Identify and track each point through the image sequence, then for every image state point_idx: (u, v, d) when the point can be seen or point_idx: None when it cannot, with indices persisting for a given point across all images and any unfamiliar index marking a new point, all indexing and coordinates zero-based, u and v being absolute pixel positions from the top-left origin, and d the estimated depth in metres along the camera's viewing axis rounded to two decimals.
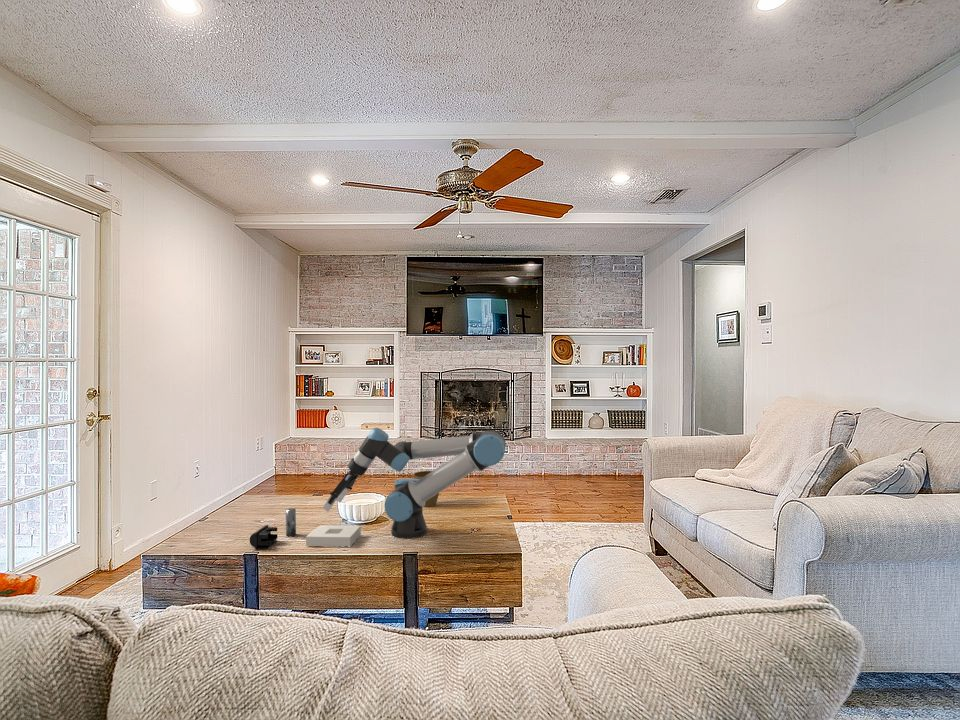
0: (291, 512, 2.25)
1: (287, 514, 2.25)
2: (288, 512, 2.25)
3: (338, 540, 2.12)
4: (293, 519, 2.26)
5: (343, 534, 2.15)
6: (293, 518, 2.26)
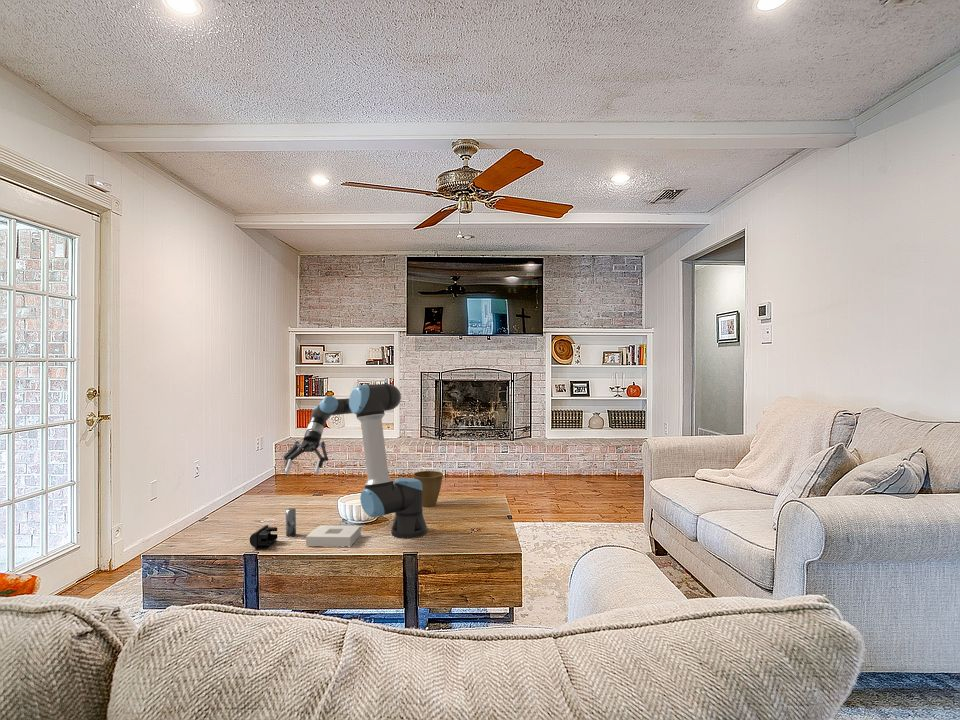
0: (291, 512, 2.25)
1: (287, 514, 2.25)
2: (288, 512, 2.25)
3: (338, 540, 2.12)
4: (293, 519, 2.26)
5: (343, 534, 2.15)
6: (293, 518, 2.26)
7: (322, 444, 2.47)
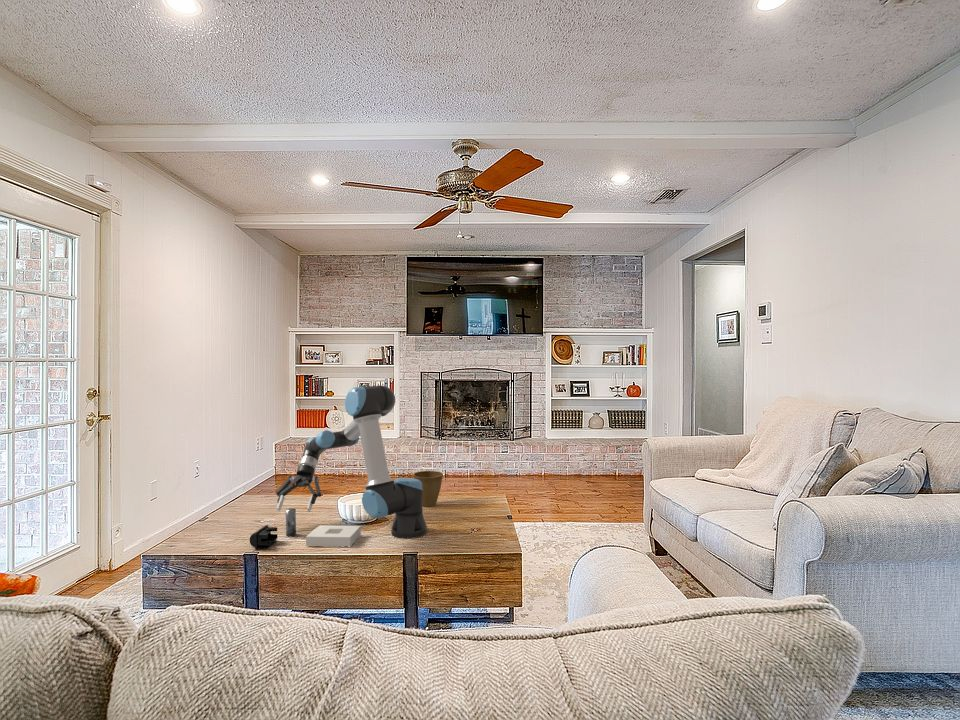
0: (291, 512, 2.25)
1: (287, 514, 2.25)
2: (288, 512, 2.25)
3: (338, 540, 2.12)
4: (293, 519, 2.26)
5: (343, 534, 2.15)
6: (293, 518, 2.26)
7: (315, 479, 2.41)
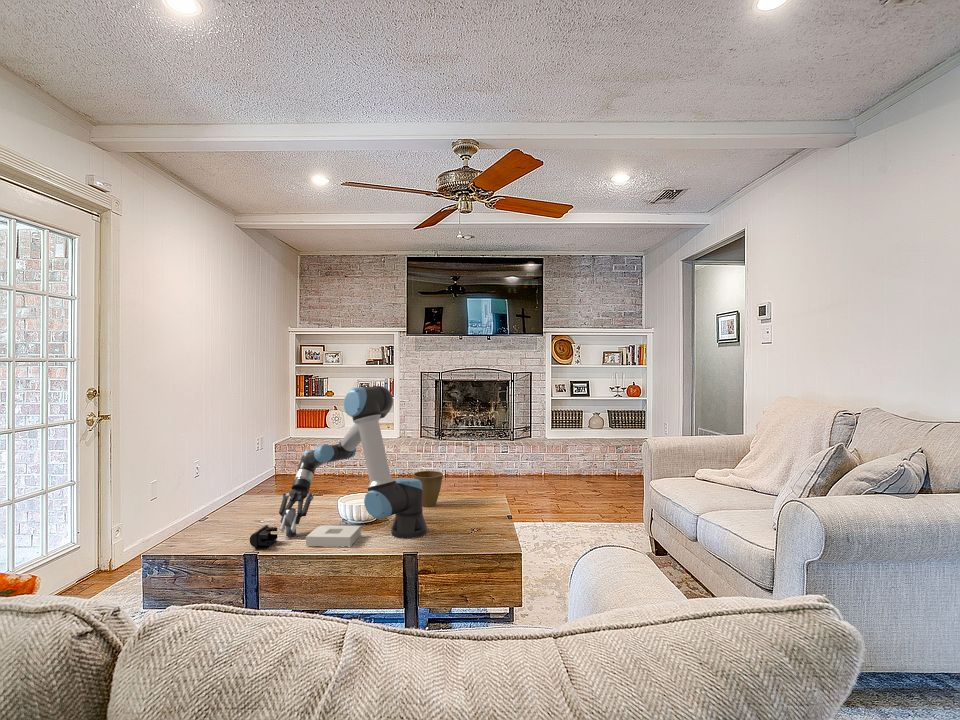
0: (291, 512, 2.25)
1: (287, 514, 2.25)
2: (288, 512, 2.25)
3: (338, 540, 2.12)
4: (293, 519, 2.26)
5: (343, 534, 2.15)
6: (293, 518, 2.26)
7: (308, 496, 2.33)
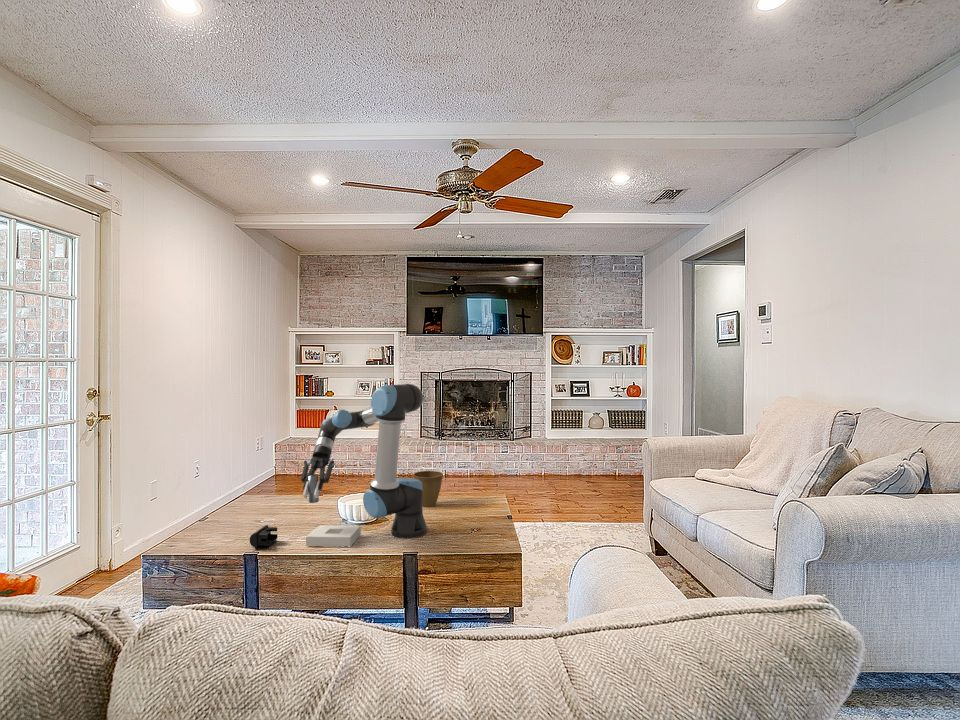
0: (314, 478, 2.22)
1: (309, 480, 2.22)
2: (310, 478, 2.22)
3: (338, 540, 2.12)
4: None
5: (343, 534, 2.15)
6: (315, 484, 2.23)
7: (330, 463, 2.30)
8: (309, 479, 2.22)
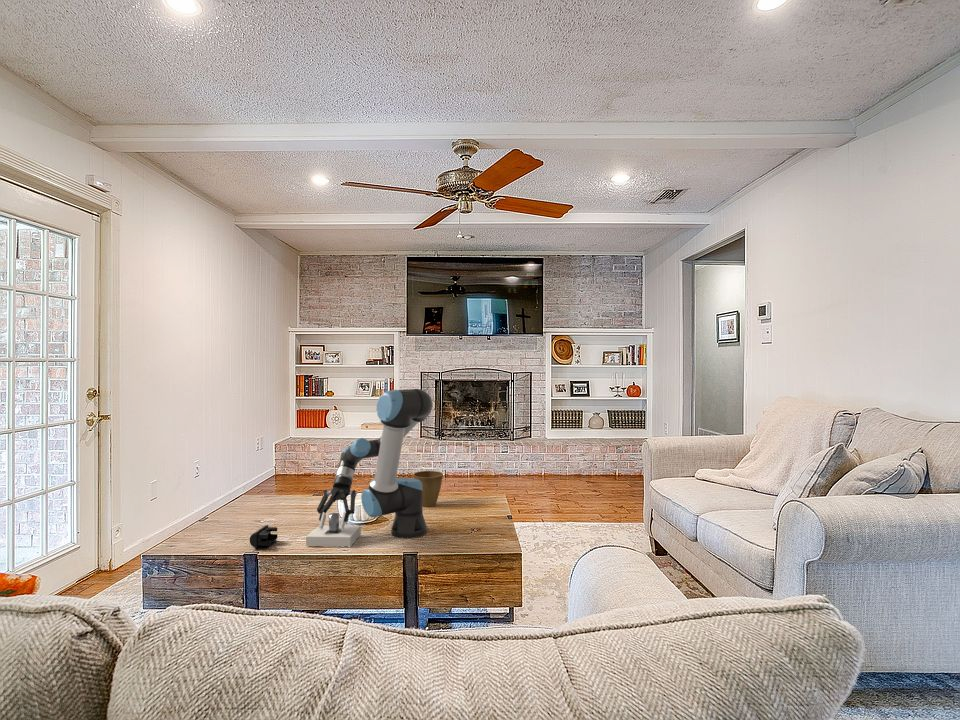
0: (334, 517, 2.18)
1: (330, 519, 2.18)
2: (331, 517, 2.18)
3: (338, 540, 2.12)
4: (336, 524, 2.18)
5: (343, 534, 2.15)
6: (336, 523, 2.18)
7: (352, 493, 2.25)
8: (330, 518, 2.18)
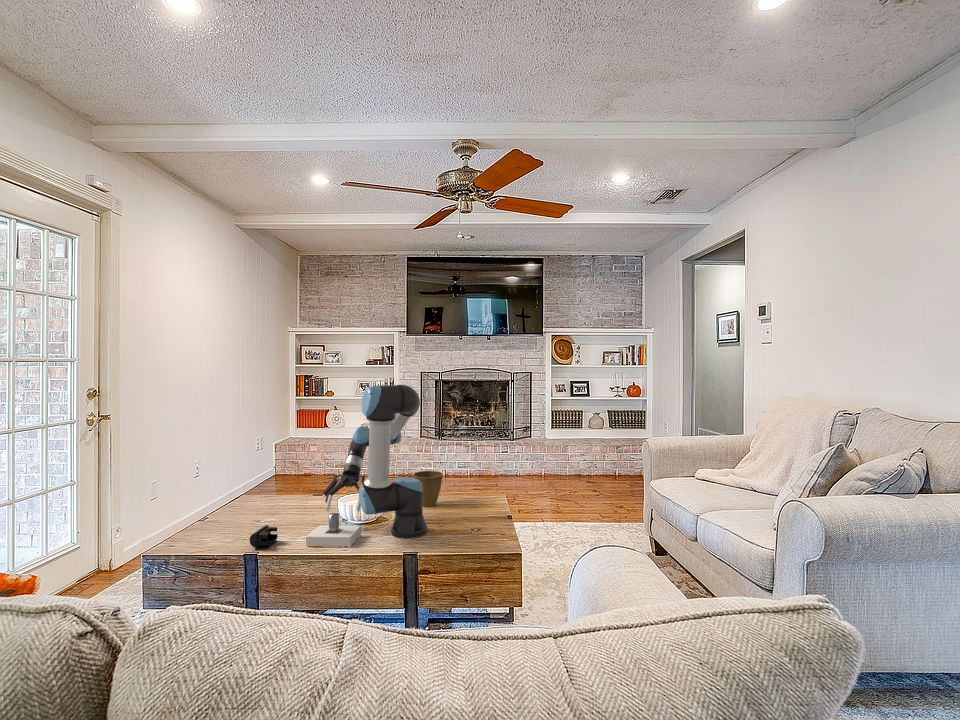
0: (334, 517, 2.18)
1: (330, 519, 2.18)
2: (331, 517, 2.18)
3: (338, 540, 2.12)
4: (336, 524, 2.18)
5: (343, 534, 2.15)
6: (336, 523, 2.18)
7: (362, 478, 2.39)
8: (330, 518, 2.18)
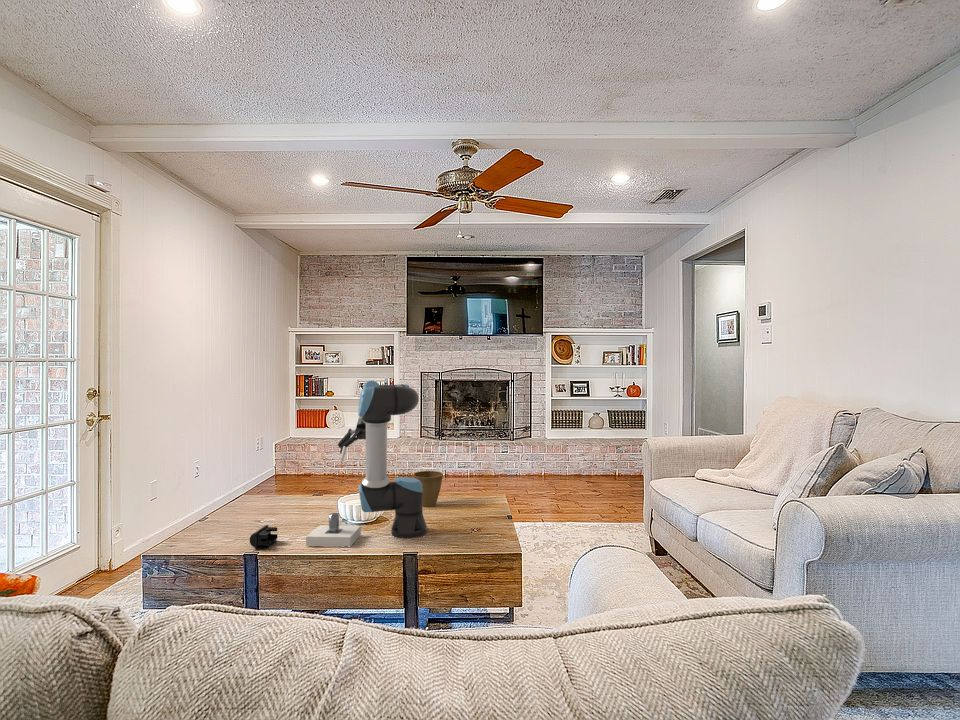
0: (334, 517, 2.18)
1: (330, 519, 2.18)
2: (331, 517, 2.18)
3: (338, 540, 2.12)
4: (336, 524, 2.18)
5: (343, 534, 2.15)
6: (336, 523, 2.18)
7: None
8: (330, 518, 2.18)
